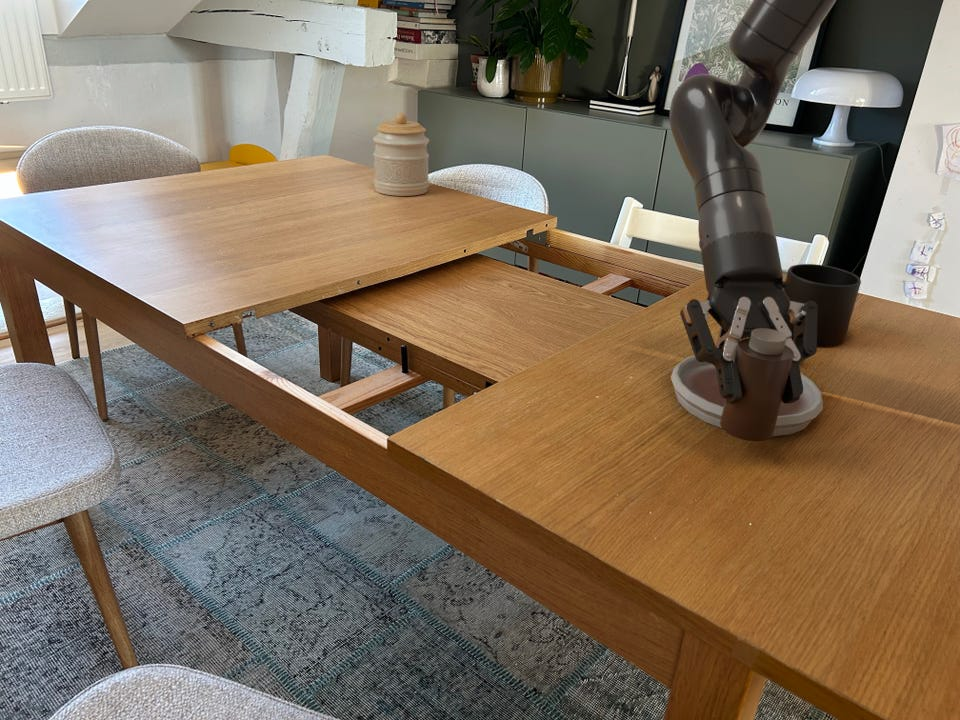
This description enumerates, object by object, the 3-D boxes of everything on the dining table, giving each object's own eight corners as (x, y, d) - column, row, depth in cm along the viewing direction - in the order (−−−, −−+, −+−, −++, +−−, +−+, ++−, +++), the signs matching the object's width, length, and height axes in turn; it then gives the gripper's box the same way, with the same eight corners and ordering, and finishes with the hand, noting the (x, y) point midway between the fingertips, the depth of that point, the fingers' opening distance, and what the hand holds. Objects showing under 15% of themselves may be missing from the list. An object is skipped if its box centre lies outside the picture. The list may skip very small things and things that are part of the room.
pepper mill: (776, 423, 76) (801, 331, 71) (768, 447, 72) (793, 350, 67) (725, 410, 78) (746, 319, 74) (715, 431, 74) (736, 337, 69)
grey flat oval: (843, 344, 97) (814, 433, 75) (838, 364, 98) (807, 457, 76) (714, 315, 104) (652, 387, 82) (710, 334, 106) (649, 410, 83)
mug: (759, 313, 112) (772, 256, 108) (844, 329, 108) (861, 270, 104) (752, 335, 104) (766, 275, 100) (844, 353, 100) (861, 291, 96)
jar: (430, 185, 180) (431, 110, 173) (427, 198, 169) (428, 118, 161) (376, 183, 180) (375, 107, 172) (370, 195, 168) (369, 115, 160)
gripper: (685, 227, 73) (708, 391, 67) (822, 229, 74) (854, 390, 69) (660, 260, 80) (678, 412, 74) (785, 262, 81) (812, 411, 76)
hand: (763, 401), depth 72 cm, fingers closed on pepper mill, 5 cm apart
